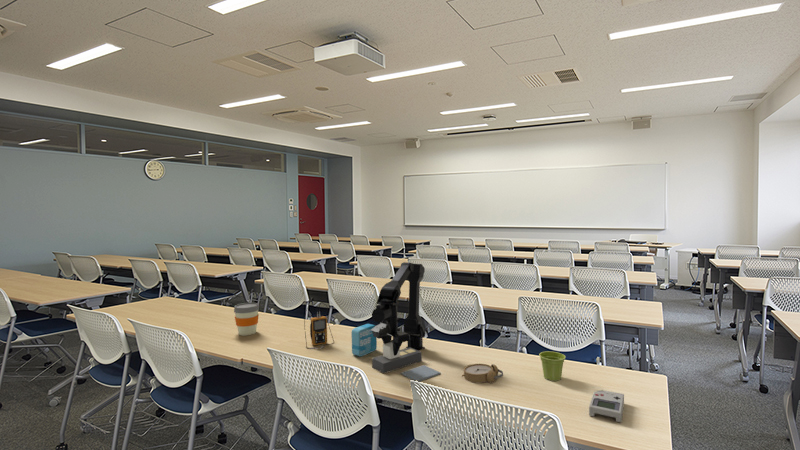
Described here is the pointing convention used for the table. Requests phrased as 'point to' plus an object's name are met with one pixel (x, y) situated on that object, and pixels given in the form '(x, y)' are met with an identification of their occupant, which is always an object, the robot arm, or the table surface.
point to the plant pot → (552, 365)
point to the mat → (420, 373)
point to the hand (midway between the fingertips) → (391, 353)
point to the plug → (389, 351)
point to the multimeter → (318, 329)
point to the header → (397, 360)
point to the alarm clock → (481, 373)
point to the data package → (363, 340)
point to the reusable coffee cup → (246, 318)
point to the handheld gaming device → (607, 404)
